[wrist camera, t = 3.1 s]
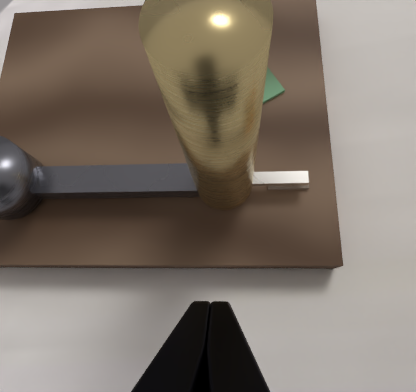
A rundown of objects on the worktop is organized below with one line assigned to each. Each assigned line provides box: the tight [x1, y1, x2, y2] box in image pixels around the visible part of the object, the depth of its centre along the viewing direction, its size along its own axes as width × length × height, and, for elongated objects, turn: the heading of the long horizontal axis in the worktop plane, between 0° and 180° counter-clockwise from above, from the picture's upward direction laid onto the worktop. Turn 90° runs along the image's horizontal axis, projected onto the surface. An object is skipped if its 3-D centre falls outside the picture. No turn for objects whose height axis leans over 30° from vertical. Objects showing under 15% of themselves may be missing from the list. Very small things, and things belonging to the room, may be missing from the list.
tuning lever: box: [0, 0, 309, 220], centre depth 12 cm, size 4×17×10 cm, turn 89°
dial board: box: [0, 0, 343, 269], centre depth 20 cm, size 16×19×2 cm
